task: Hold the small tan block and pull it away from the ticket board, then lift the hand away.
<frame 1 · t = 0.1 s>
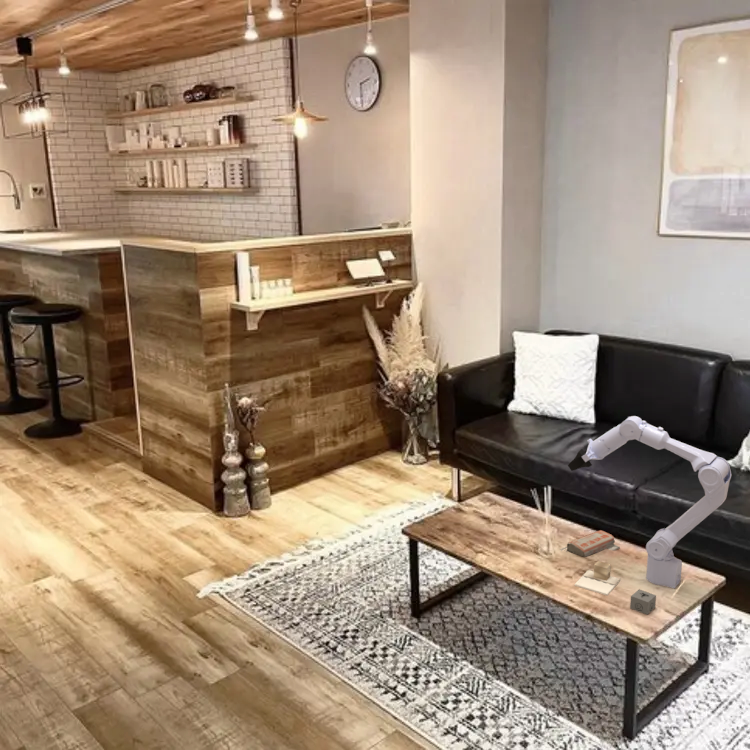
hand: (575, 464, 240), 32 cm above the table, tool tilted 50°, fingers open, 7 cm apart
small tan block: (601, 571, 232), point 3 cm above the table, slide at 0.0 cm
dice cube: (642, 612, 217), on the table
ticket board: (599, 584, 232), on the table
packaged product: (589, 552, 253), on the table
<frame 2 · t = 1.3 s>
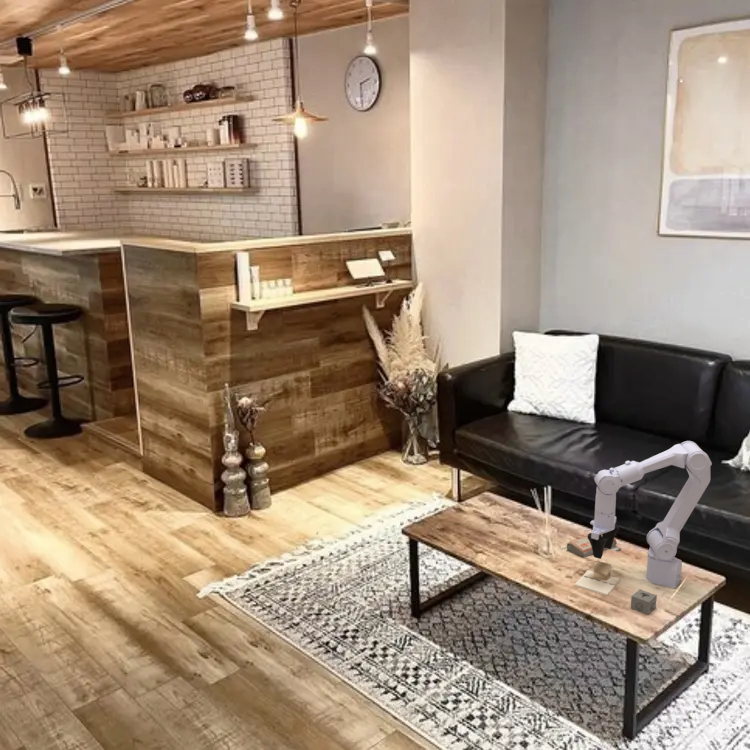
hand: (602, 552, 231), 10 cm above the table, tool pointing down, fingers open, 7 cm apart
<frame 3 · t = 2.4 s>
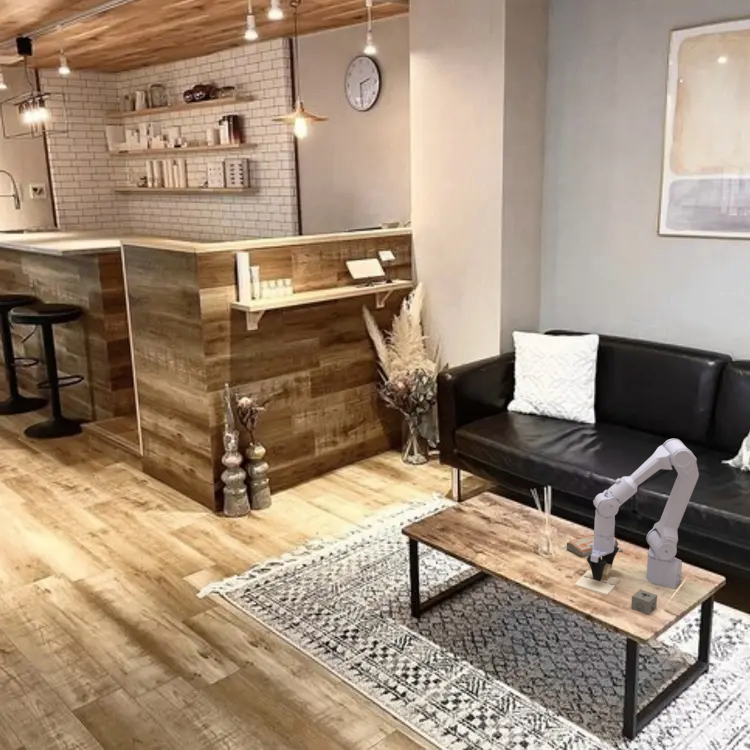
hand: (602, 574, 232), 2 cm above the table, tool pointing down, fingers open, 7 cm apart
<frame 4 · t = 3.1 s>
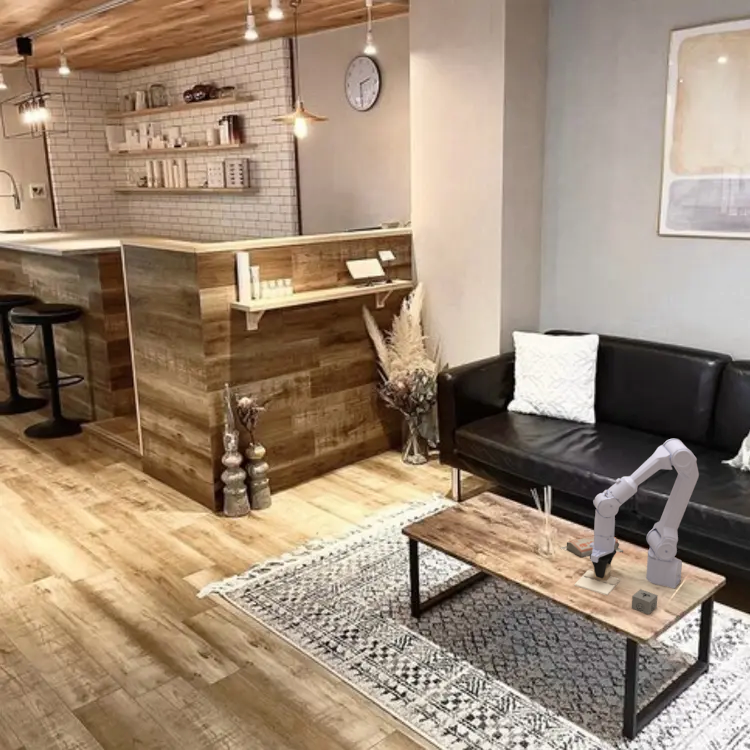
hand: (602, 574, 232), 2 cm above the table, tool pointing down, fingers closed on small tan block, 3 cm apart
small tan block: (601, 571, 232), point 3 cm above the table, slide at 0.0 cm, touching gripper
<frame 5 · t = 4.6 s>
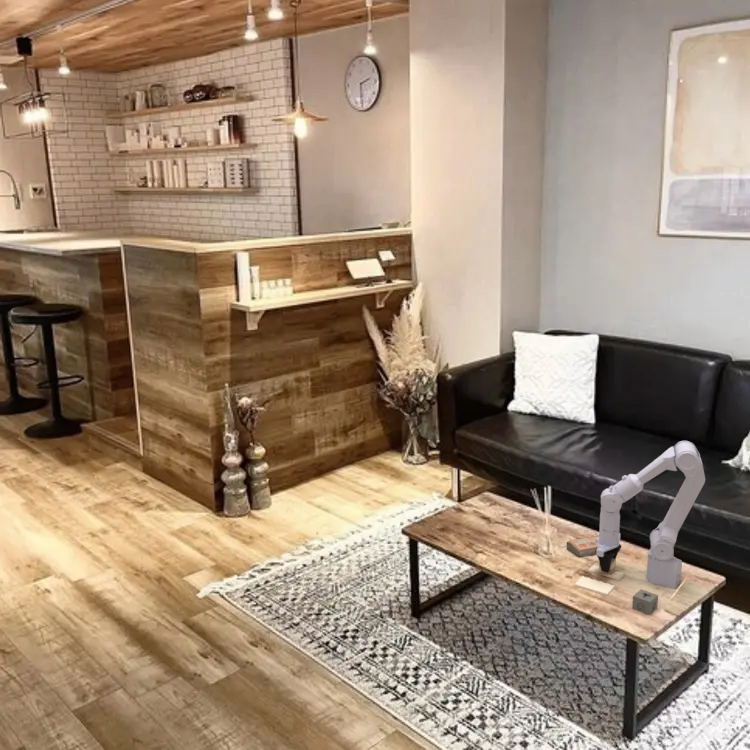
hand: (607, 569, 236), 2 cm above the table, tool pointing down, fingers closed on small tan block, 3 cm apart
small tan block: (607, 566, 235), point 3 cm above the table, slide at 4.2 cm, touching gripper
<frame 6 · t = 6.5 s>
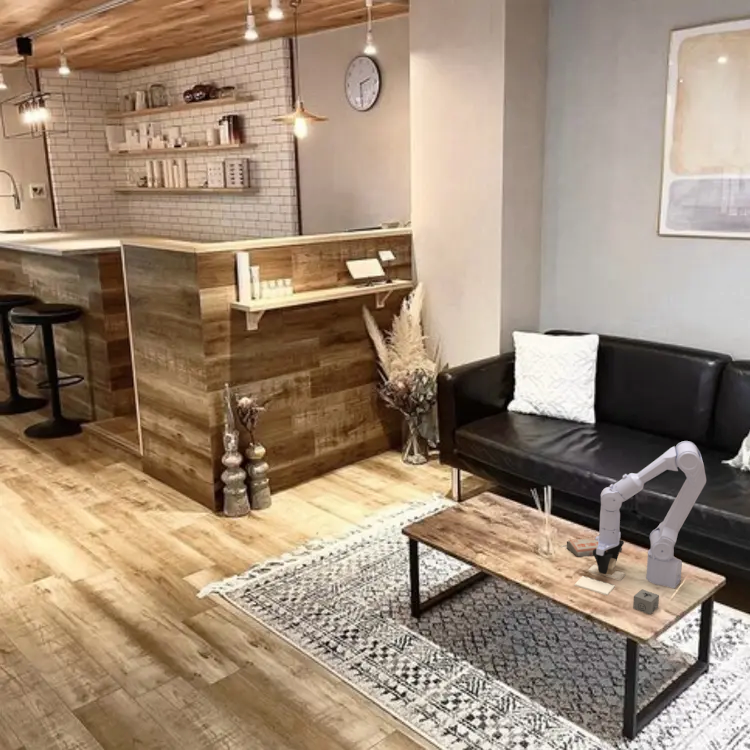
hand: (607, 567, 235), 3 cm above the table, tool pointing down, fingers open, 7 cm apart
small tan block: (607, 566, 235), point 3 cm above the table, slide at 4.2 cm
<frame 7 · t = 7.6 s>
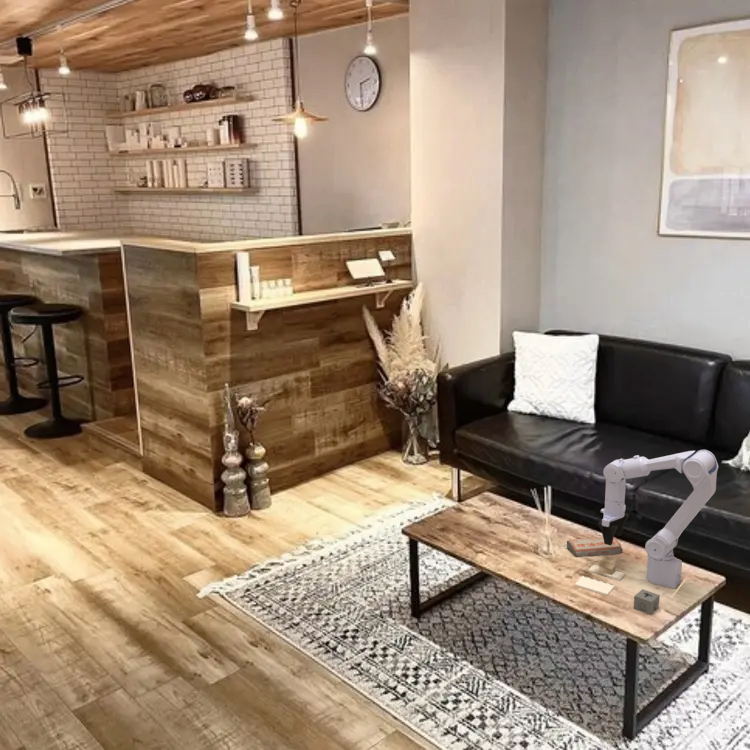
hand: (612, 539, 239), 9 cm above the table, tool pointing down, fingers open, 7 cm apart
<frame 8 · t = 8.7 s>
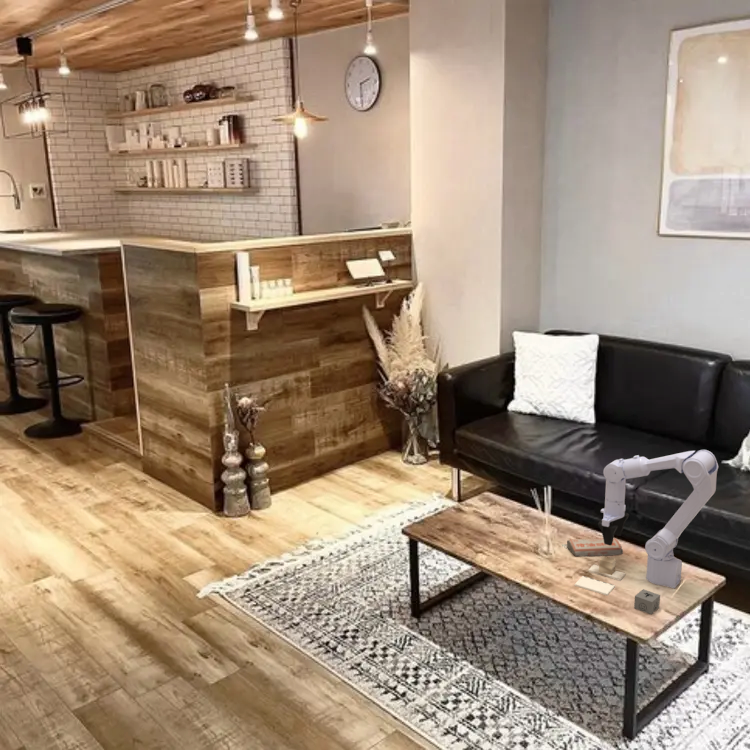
hand: (612, 539, 239), 9 cm above the table, tool pointing down, fingers open, 7 cm apart
at the end: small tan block slide at 4.2 cm; the gripper is holding nothing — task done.
